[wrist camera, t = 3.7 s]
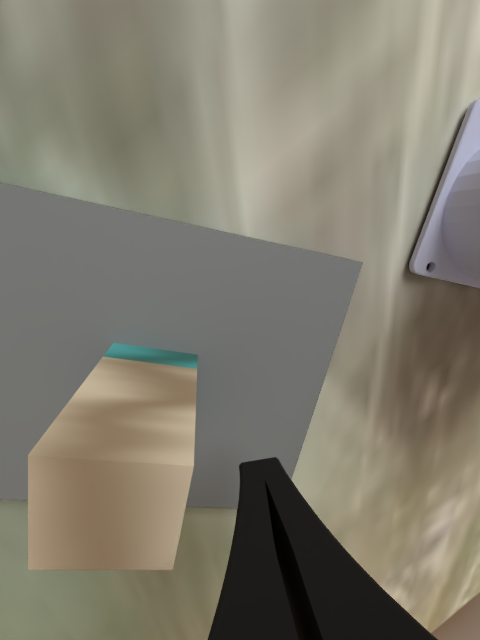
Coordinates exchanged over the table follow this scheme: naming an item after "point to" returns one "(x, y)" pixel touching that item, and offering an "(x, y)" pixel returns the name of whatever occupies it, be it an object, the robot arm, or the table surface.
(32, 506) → the birch block
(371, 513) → the table surface
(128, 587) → the table surface
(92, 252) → the slate board
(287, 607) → the robot arm
